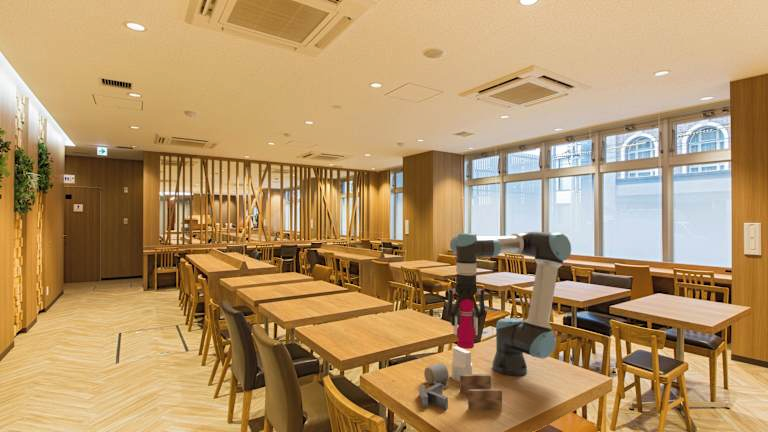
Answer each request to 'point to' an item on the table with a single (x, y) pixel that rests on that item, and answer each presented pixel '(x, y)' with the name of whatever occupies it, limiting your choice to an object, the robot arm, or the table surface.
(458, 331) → the pepper mill
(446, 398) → the letter k block
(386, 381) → the table surface
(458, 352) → the base with upright slab
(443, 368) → the ceramic mug
